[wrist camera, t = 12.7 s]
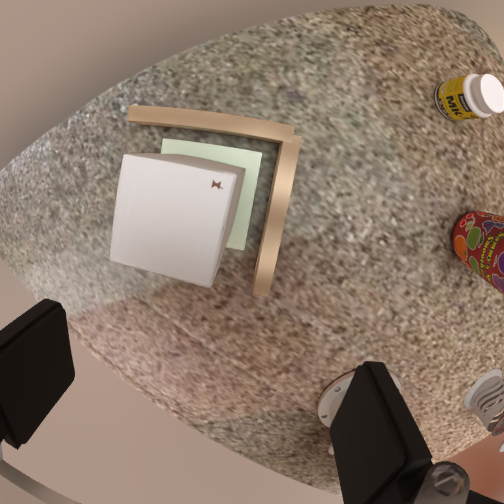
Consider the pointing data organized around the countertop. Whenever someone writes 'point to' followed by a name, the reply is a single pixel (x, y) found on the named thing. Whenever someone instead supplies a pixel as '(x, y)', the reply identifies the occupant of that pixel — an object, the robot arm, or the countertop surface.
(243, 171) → the supplement box
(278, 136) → the wooden corner guide
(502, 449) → the french press
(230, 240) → the pad
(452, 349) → the countertop surface
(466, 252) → the smoothie
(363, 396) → the robot arm
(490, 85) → the supplement bottle
